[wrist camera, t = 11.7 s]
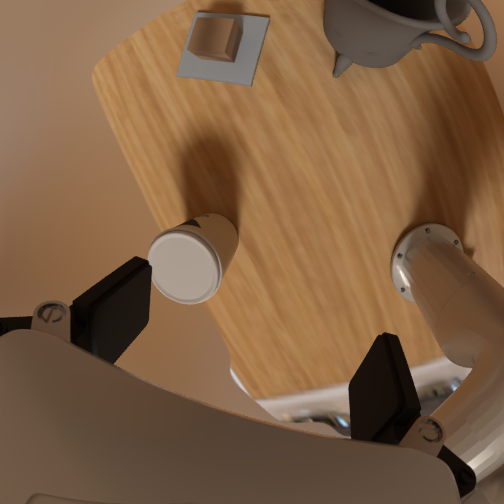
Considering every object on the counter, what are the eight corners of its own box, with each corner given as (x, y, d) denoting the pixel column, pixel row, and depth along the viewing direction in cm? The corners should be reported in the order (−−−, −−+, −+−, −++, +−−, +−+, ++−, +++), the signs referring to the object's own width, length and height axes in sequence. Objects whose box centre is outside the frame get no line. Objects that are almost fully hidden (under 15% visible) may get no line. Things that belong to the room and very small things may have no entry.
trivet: (270, 20, 30) (269, 17, 30) (251, 86, 35) (250, 85, 34) (197, 14, 31) (195, 12, 31) (178, 77, 36) (176, 76, 35)
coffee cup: (215, 194, 41) (180, 212, 30) (257, 244, 42) (237, 280, 31) (173, 232, 44) (131, 260, 33) (211, 278, 46) (181, 319, 34)
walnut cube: (243, 32, 31) (234, 18, 27) (234, 62, 33) (224, 52, 28) (209, 29, 32) (196, 17, 27) (200, 59, 33) (186, 49, 29)
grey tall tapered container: (287, 8, 29) (254, -111, 6) (373, -18, 25) (409, -123, 2) (355, 117, 34) (425, 72, 10) (441, 85, 29) (557, 44, 6)
